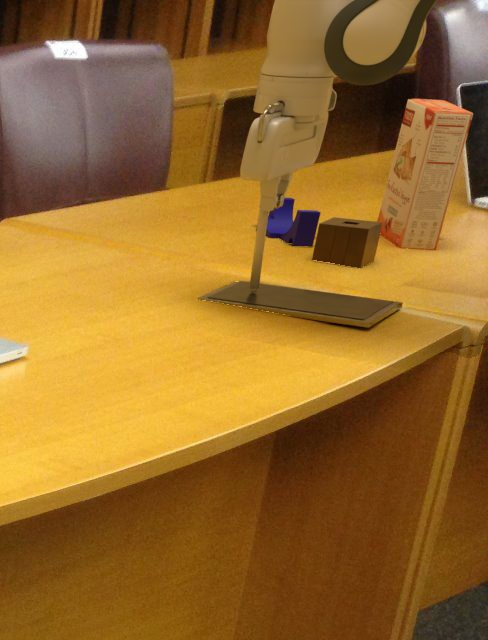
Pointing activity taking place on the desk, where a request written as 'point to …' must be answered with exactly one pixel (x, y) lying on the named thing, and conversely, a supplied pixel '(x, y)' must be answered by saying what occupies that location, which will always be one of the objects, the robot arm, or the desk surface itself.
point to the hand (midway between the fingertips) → (270, 209)
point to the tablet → (306, 303)
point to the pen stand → (347, 241)
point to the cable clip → (292, 224)
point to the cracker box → (423, 172)
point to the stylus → (258, 251)
